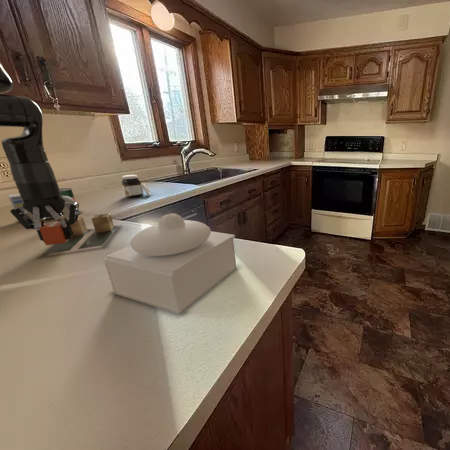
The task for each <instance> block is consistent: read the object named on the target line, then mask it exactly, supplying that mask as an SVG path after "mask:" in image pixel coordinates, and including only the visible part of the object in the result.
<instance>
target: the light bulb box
mask: <svg viewBox="0 0 450 450" xmlns="http://www.w3.org/2000/svg"><path fill="white" fill-rule="evenodd" d="M7 197H8V199H9V202H10V204H11V206H12V209H14V208H17V207H22V206H23V200H22V198H21V196H20V193H14V194H9V195H7ZM26 211H27V210H26ZM26 214H27V215H28V216H29V217H30V218H31V219H32V221H33V214H32V213H30V212H29V211H27V213H26ZM49 219H54V217H46V219H45V220H49Z"/></svg>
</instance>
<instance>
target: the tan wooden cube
mask: <svg viewBox="0 0 450 450" xmlns="http://www.w3.org/2000/svg"><path fill="white" fill-rule="evenodd" d="M67 219H68V220H69V218H67ZM71 228H72V231H73V236H76V235H83V234H84V233H85V232H86V231H87V230H88V227H87V225H86V222H85V219H84V216H78V221H77V222H75V223H74V224H72V225H71Z"/></svg>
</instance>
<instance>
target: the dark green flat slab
mask: <svg viewBox="0 0 450 450" xmlns="http://www.w3.org/2000/svg"><path fill="white" fill-rule="evenodd" d="M117 228H118V225H114V228H113V229H112V230H111V231H106V232H98V233H96V231H95V230H94V231H93V232H92V233H91V235H90V236H89V237H88V238H87V239H86V240H84V242H83V243H82V244H81V245H79V247H78V248H77V250H80V249H88V248H95V247H100V246H104V245H105V244H106V242H107V241H108V240H109V238H110V237H111V235H112V234H113V233H114V232H115V230H116V229H117ZM91 230H92V228H90V229H89V228H87V231H86V232H85V233H84V234H83V235H76V236H72V238H71V239H69V240H68V241H67V242H65V243H59V244H52V246H51V247H50V248H48V249H47V250H46V251H45V252H44V253H43V255H46V254H47V255H48V254H54V253H61V252H67V251H71V250H72V249H73V248H75V246H76V245H77V244H78V243H79V242H80V241H81V240H82V239H83V238H84V237H85V236H86V235H88V233H90V231H91Z"/></svg>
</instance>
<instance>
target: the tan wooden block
mask: <svg viewBox="0 0 450 450" xmlns="http://www.w3.org/2000/svg"><path fill="white" fill-rule="evenodd" d="M91 222H92V226H93V227H94V232H95V231H96V233H98V232H106V231H111V230H112V229H113V228H114V226H115V224H114V221H113V216H112V214H111V213H102V214H95V215H94V216H92V217H91Z"/></svg>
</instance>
